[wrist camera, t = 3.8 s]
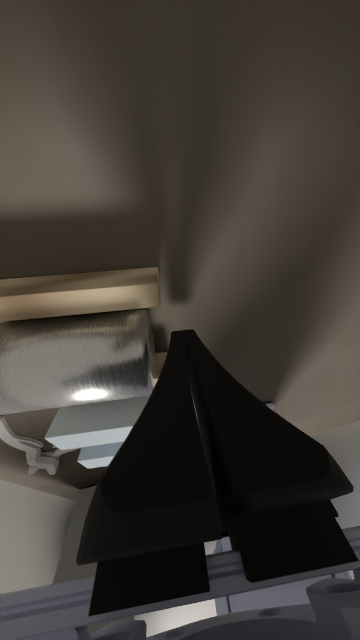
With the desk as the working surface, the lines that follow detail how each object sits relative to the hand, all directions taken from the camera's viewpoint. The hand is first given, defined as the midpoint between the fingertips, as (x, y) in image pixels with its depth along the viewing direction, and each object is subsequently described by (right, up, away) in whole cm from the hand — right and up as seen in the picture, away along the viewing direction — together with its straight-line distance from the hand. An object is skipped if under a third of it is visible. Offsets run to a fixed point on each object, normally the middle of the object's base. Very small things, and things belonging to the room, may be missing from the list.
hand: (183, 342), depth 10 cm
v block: (-6, -8, +7) cm, 12 cm away
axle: (-7, +1, +1) cm, 7 cm away
